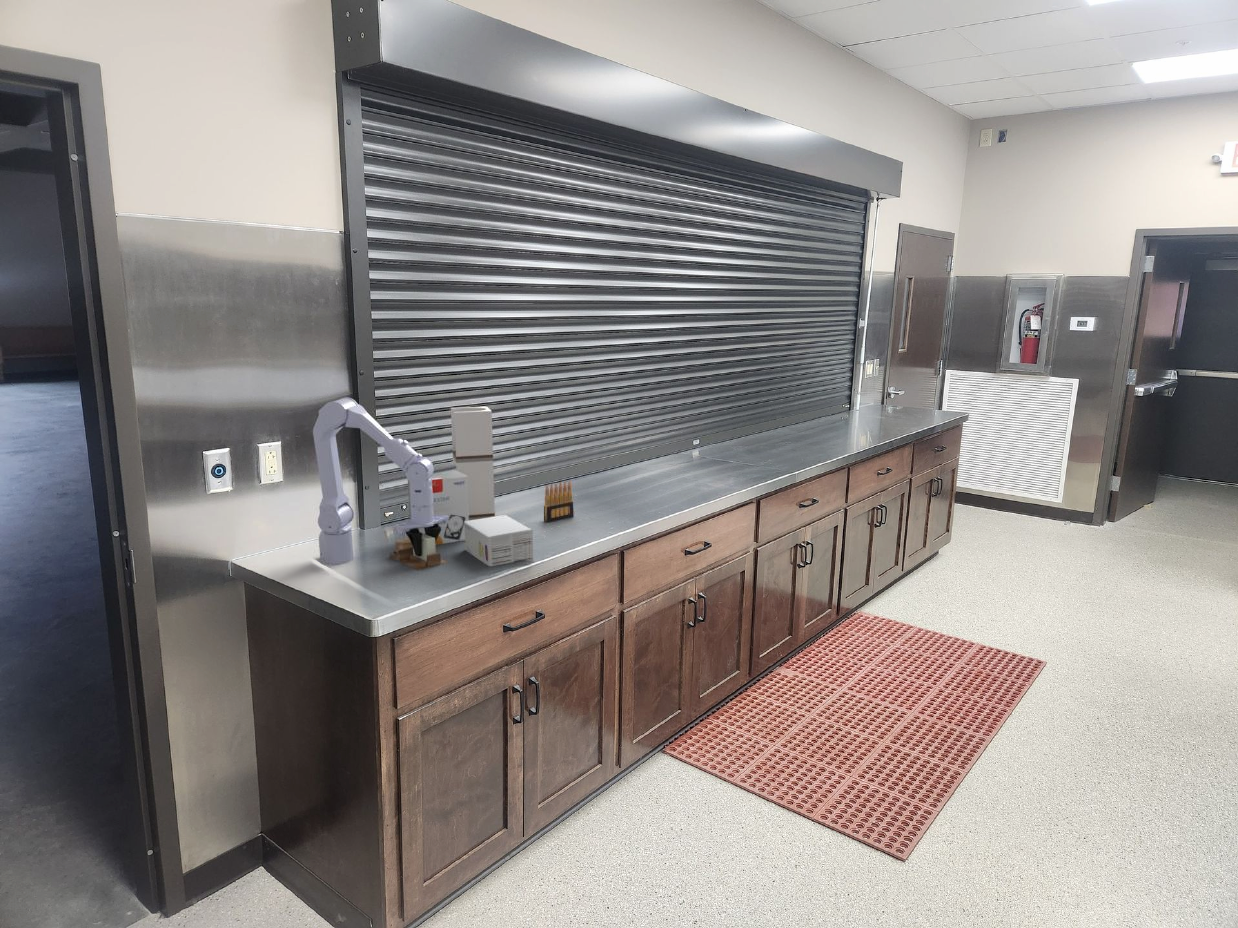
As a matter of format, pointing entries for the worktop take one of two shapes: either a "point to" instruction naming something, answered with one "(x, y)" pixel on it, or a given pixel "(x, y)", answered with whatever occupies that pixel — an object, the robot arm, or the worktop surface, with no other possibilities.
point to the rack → (416, 559)
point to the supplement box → (498, 540)
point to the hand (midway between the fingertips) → (424, 554)
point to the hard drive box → (449, 504)
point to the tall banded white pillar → (475, 457)
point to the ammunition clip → (558, 503)
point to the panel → (426, 547)
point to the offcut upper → (403, 544)
